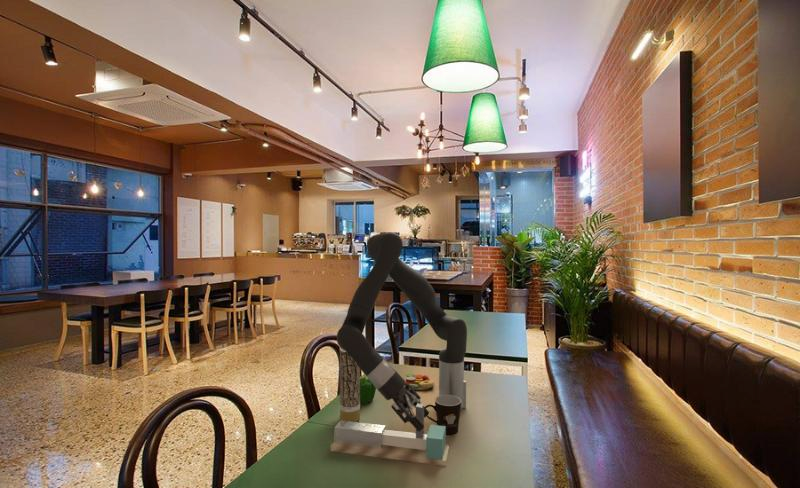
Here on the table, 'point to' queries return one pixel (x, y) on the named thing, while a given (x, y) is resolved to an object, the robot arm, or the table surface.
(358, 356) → the robot arm
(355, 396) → the paper tube
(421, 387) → the toy food set
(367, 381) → the bell pepper
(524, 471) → the table surface
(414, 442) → the white bar
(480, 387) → the table surface
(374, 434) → the metal sleeve
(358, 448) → the track board
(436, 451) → the teal socket
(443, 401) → the coffee mug
